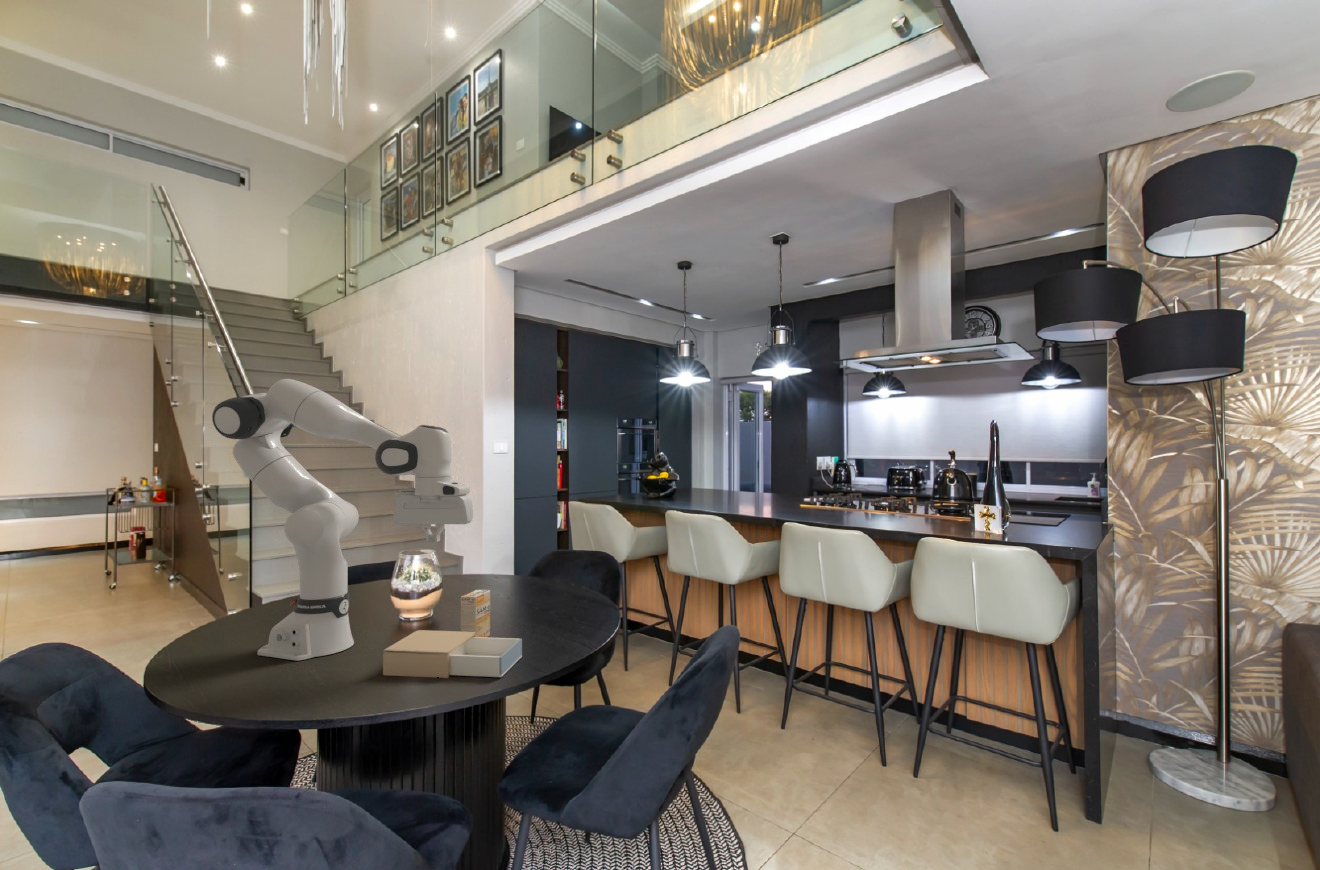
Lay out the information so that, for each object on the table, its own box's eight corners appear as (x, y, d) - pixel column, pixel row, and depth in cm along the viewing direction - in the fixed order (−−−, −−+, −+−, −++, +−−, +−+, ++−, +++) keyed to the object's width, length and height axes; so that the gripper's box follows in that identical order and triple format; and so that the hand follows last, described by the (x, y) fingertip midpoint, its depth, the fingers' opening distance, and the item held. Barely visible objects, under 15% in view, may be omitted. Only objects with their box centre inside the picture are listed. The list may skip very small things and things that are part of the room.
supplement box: (476, 646, 153) (476, 597, 154) (459, 644, 154) (459, 596, 154) (491, 636, 161) (491, 589, 162) (475, 635, 162) (475, 588, 163)
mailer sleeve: (383, 675, 134) (383, 650, 134) (417, 652, 149) (417, 629, 149) (447, 677, 132) (447, 652, 132) (476, 654, 147) (476, 631, 147)
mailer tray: (439, 674, 133) (439, 654, 133) (465, 654, 146) (465, 636, 146) (501, 677, 131) (501, 657, 131) (521, 656, 144) (521, 638, 144)
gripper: (388, 488, 146) (388, 543, 145) (464, 488, 143) (464, 543, 143) (402, 487, 152) (402, 539, 152) (475, 486, 149) (475, 539, 149)
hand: (433, 541), depth 147 cm, fingers closed
